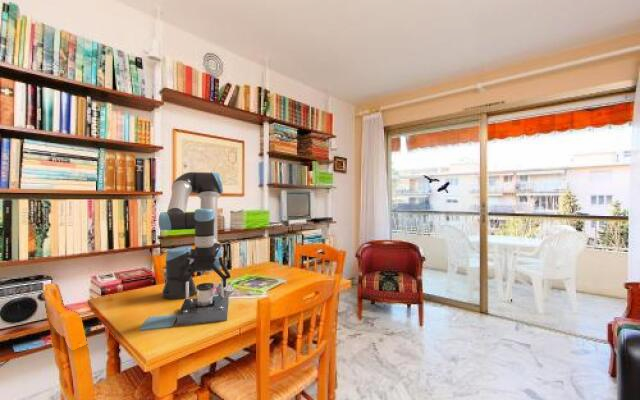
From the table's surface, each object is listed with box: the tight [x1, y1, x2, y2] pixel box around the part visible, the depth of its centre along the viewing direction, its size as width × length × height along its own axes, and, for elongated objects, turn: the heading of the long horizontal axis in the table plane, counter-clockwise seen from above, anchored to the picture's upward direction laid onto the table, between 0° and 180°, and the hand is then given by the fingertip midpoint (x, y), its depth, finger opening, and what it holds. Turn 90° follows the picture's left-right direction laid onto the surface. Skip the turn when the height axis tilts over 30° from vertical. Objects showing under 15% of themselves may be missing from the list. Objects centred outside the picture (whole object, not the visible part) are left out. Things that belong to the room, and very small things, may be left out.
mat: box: [139, 313, 178, 331], centre depth 113 cm, size 11×11×1 cm
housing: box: [176, 295, 230, 327], centre depth 121 cm, size 18×18×5 cm
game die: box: [214, 281, 235, 297], centre depth 139 cm, size 9×8×10 cm
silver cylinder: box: [195, 282, 215, 308], centre depth 121 cm, size 7×7×12 cm
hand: (205, 296), depth 121 cm, fingers open, 13 cm apart
